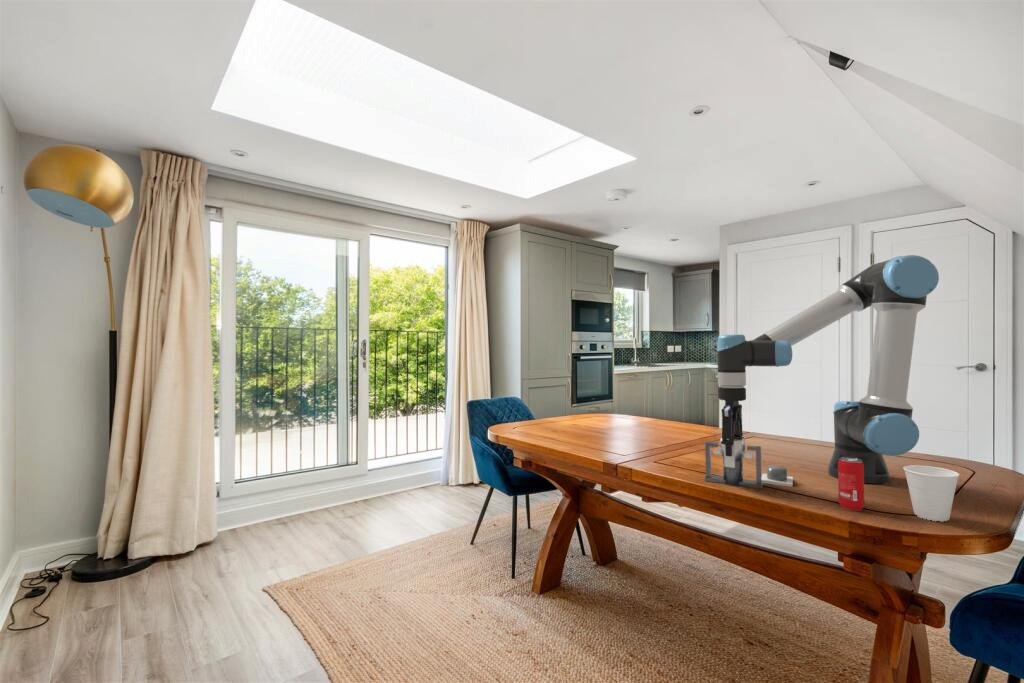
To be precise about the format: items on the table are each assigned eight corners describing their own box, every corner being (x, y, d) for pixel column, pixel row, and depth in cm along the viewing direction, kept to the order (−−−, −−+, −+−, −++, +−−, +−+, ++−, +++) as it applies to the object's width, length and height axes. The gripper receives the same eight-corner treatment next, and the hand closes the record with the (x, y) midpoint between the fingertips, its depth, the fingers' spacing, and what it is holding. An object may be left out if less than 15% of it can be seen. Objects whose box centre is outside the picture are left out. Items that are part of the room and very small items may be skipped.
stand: (792, 479, 141) (792, 466, 141) (792, 486, 134) (792, 472, 134) (762, 475, 145) (762, 463, 145) (760, 482, 138) (760, 469, 138)
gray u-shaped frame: (762, 484, 136) (762, 445, 136) (761, 489, 132) (760, 449, 132) (707, 477, 144) (706, 440, 144) (704, 481, 140) (703, 443, 140)
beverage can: (833, 504, 119) (832, 457, 119) (852, 503, 119) (851, 456, 120) (850, 511, 114) (849, 462, 114) (869, 510, 114) (869, 461, 114)
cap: (755, 455, 138) (754, 436, 138) (750, 460, 132) (749, 440, 132) (717, 451, 144) (716, 433, 144) (710, 455, 139) (710, 436, 139)
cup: (914, 522, 107) (913, 474, 107) (896, 508, 116) (895, 463, 116) (970, 528, 103) (969, 478, 103) (947, 512, 112) (946, 467, 112)
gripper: (726, 383, 148) (728, 455, 148) (708, 388, 133) (710, 469, 133) (752, 384, 144) (754, 459, 144) (737, 390, 128) (738, 473, 128)
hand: (733, 464), depth 138 cm, fingers closed on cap, 7 cm apart
